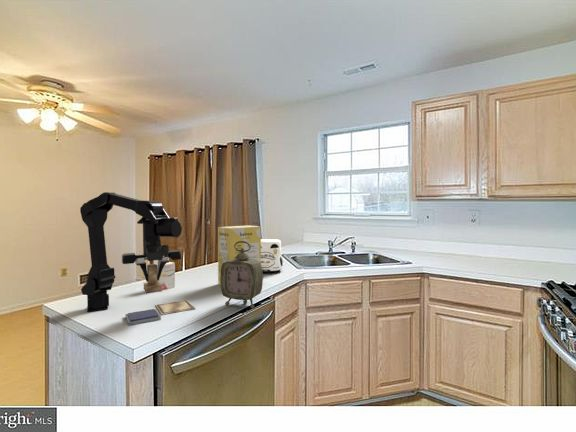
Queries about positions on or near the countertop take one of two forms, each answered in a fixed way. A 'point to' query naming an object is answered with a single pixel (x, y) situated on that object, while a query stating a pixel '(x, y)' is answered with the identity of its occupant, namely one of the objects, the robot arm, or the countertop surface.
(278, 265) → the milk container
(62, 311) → the countertop surface
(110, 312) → the countertop surface
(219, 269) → the pasta box
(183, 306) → the marked card
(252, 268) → the tabletop clock
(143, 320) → the ink pad
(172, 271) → the ink cartridge box
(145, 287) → the stamp
